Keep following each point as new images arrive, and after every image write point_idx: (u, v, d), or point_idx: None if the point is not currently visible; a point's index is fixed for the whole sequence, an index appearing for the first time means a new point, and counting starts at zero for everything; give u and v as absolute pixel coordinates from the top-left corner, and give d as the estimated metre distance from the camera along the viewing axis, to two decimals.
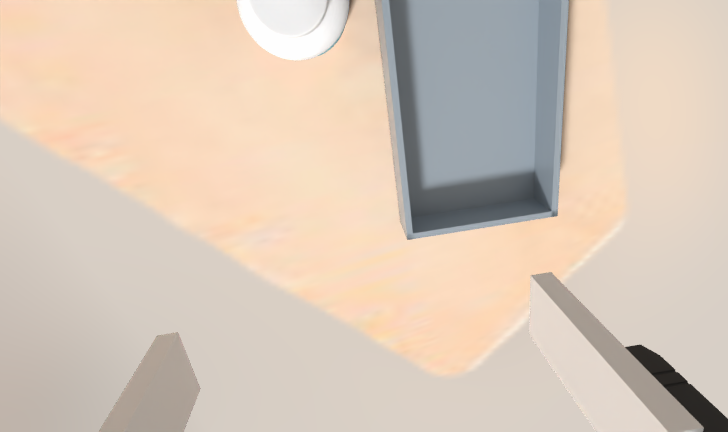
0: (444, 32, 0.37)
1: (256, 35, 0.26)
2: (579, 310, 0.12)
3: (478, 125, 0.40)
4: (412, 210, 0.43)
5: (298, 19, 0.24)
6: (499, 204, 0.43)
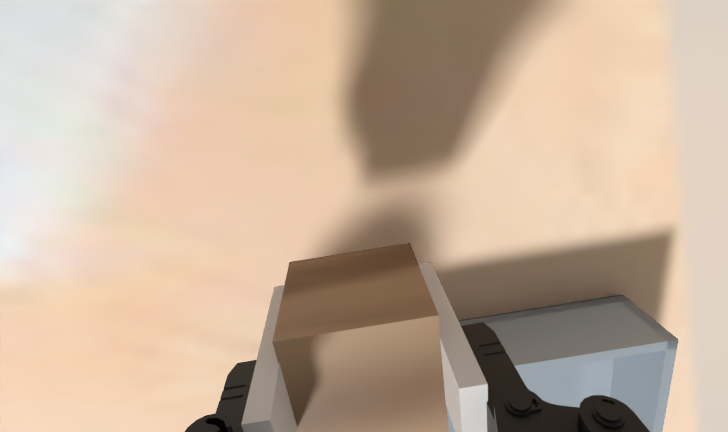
0: None
1: None
2: (438, 293, 0.14)
3: None
4: None
5: None
6: None
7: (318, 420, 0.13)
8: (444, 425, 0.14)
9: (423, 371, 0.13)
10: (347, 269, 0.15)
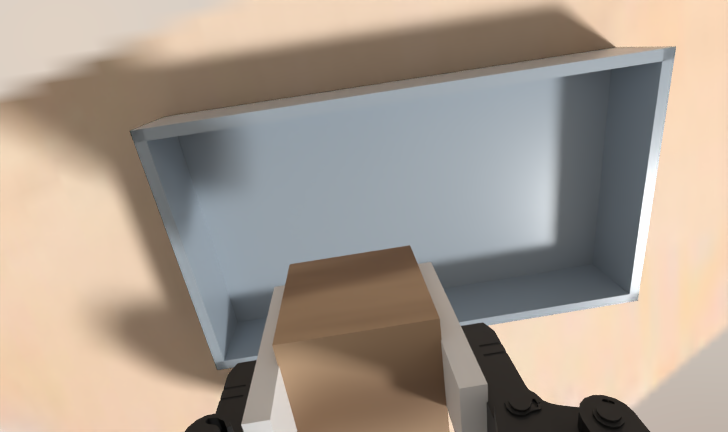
0: (340, 238, 0.27)
1: None
2: (438, 293, 0.14)
3: (470, 176, 0.26)
4: (583, 256, 0.29)
5: None
6: (608, 125, 0.25)
7: (318, 424, 0.13)
8: (445, 429, 0.14)
9: (424, 374, 0.13)
10: (347, 271, 0.15)
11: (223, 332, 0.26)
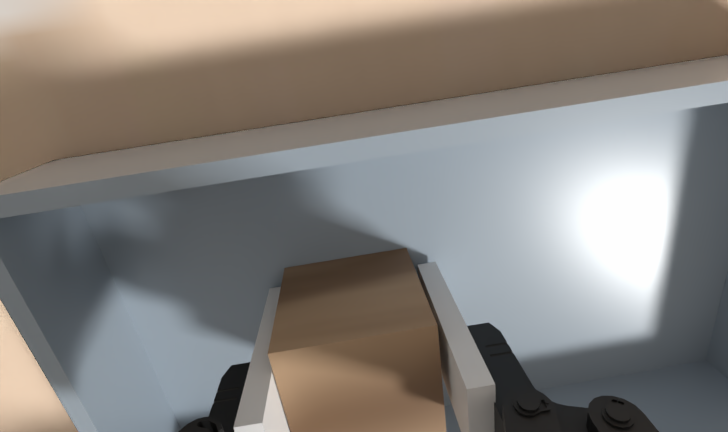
0: None
1: None
2: (443, 293, 0.14)
3: (540, 244, 0.17)
4: (693, 351, 0.20)
5: None
6: None
7: (315, 431, 0.13)
8: None
9: (421, 380, 0.12)
10: (343, 275, 0.15)
11: None
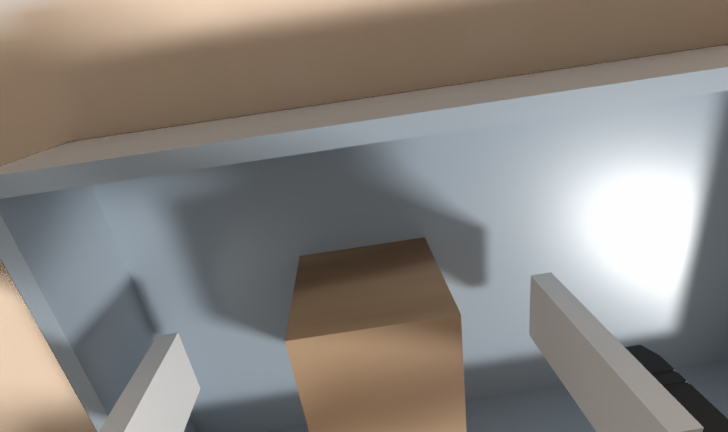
0: None
1: None
2: (579, 310, 0.12)
3: (562, 236, 0.16)
4: (717, 349, 0.19)
5: None
6: None
7: (331, 422, 0.13)
8: (462, 427, 0.13)
9: (442, 372, 0.12)
10: (360, 264, 0.15)
11: None
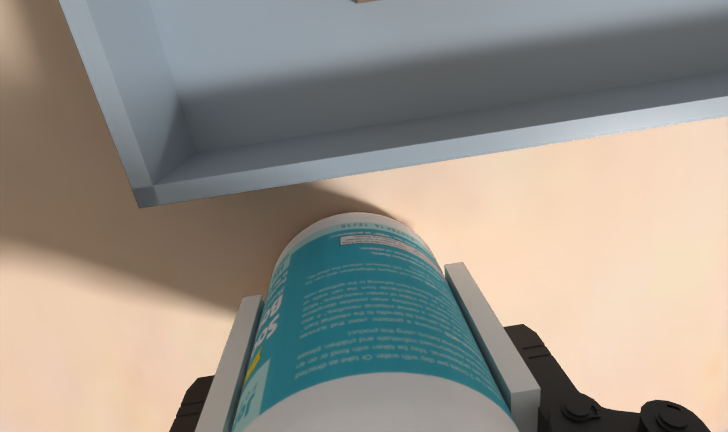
0: None
1: None
2: (475, 294, 0.14)
3: None
4: None
5: None
6: None
7: None
8: None
9: None
10: None
11: (155, 133, 0.12)
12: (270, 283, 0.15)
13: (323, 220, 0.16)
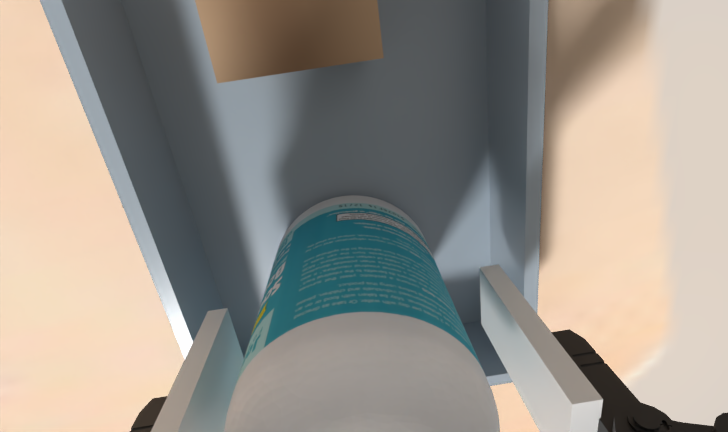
0: None
1: None
2: (516, 298, 0.13)
3: (366, 186, 0.19)
4: None
5: None
6: None
7: None
8: (233, 76, 0.12)
9: (312, 45, 0.12)
10: None
11: None
12: (275, 257, 0.17)
13: (323, 202, 0.18)
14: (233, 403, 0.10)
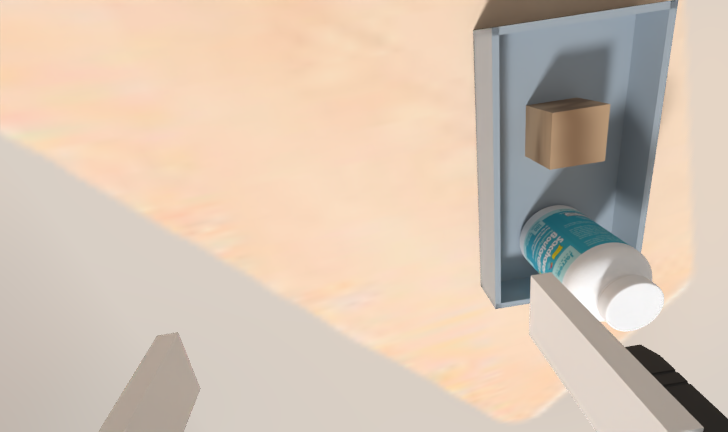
0: None
1: None
2: (579, 310, 0.12)
3: (562, 201, 0.43)
4: None
5: (653, 301, 0.32)
6: None
7: (570, 119, 0.34)
8: (555, 167, 0.36)
9: (583, 157, 0.36)
10: None
11: None
12: (531, 231, 0.41)
13: (547, 208, 0.42)
14: (576, 269, 0.34)
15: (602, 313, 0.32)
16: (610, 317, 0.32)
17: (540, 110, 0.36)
